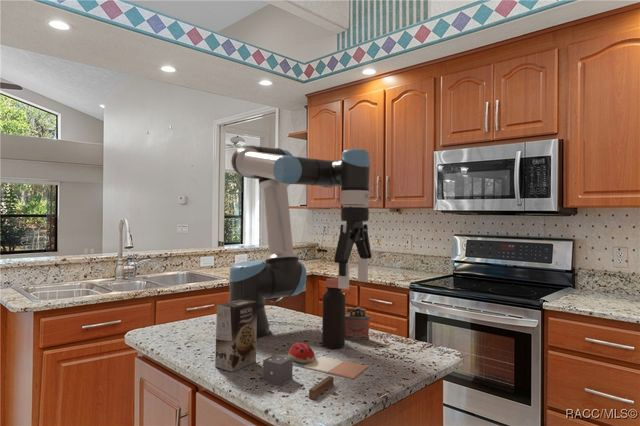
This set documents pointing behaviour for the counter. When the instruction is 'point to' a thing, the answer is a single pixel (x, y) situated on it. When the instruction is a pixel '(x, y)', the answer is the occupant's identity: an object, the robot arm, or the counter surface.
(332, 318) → the bottle
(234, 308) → the coffee box
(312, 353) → the ladybug figurine
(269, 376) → the die
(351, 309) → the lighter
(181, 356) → the counter surface
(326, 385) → the brown bar
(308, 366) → the track
